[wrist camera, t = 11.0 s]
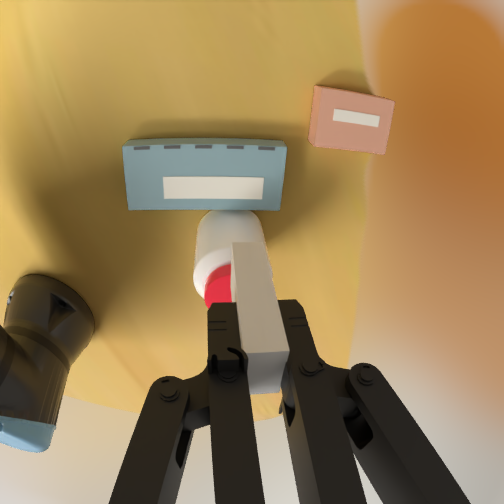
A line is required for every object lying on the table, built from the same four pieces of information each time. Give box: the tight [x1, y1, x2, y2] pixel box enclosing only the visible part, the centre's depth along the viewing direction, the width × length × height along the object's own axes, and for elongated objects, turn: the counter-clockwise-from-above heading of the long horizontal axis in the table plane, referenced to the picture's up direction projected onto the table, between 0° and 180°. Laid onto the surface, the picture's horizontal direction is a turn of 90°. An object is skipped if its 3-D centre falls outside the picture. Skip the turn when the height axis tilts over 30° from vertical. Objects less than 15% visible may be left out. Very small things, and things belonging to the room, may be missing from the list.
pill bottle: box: [193, 210, 273, 309], centre depth 33 cm, size 8×8×11 cm
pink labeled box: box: [308, 85, 395, 155], centre depth 30 cm, size 8×6×3 cm
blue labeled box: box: [122, 138, 287, 211], centre depth 32 cm, size 16×7×3 cm, turn 86°
